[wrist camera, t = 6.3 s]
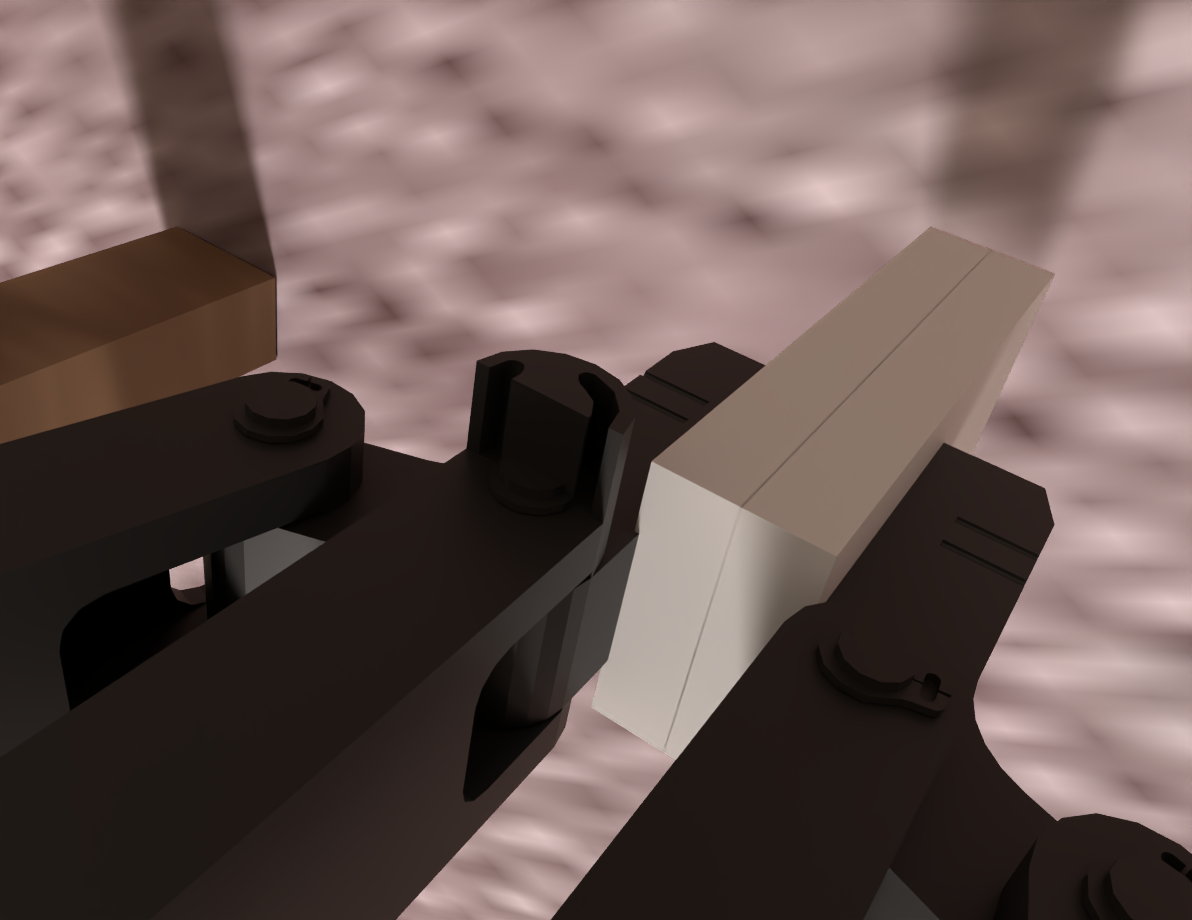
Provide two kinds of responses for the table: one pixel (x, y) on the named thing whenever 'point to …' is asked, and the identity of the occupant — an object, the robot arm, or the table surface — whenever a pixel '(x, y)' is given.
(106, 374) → the bridge
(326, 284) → the table surface
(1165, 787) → the table surface
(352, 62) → the table surface
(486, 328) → the table surface
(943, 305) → the robot arm
